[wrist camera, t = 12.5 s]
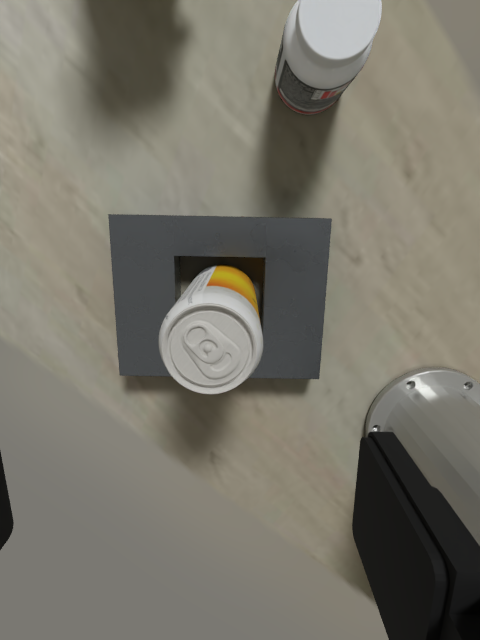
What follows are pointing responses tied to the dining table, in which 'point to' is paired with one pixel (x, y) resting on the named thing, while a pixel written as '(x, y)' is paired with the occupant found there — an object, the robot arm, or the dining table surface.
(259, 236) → the plate
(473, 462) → the robot arm
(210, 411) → the dining table surface
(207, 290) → the beer can
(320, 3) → the pill bottle
